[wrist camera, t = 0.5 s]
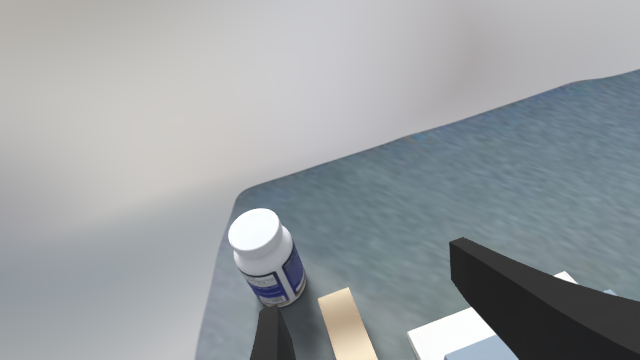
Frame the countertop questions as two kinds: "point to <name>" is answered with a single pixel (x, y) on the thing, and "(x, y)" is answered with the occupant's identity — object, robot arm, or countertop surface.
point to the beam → (346, 327)
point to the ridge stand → (463, 337)
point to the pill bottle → (267, 257)
